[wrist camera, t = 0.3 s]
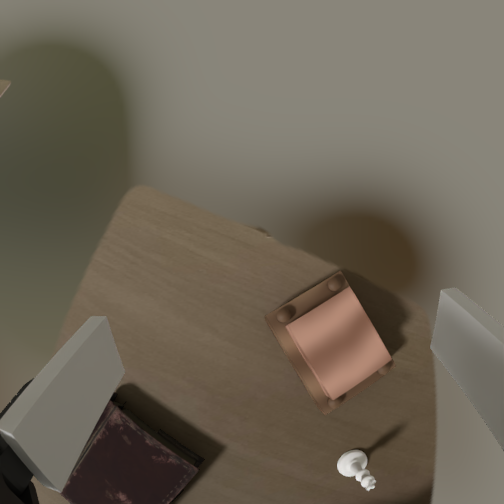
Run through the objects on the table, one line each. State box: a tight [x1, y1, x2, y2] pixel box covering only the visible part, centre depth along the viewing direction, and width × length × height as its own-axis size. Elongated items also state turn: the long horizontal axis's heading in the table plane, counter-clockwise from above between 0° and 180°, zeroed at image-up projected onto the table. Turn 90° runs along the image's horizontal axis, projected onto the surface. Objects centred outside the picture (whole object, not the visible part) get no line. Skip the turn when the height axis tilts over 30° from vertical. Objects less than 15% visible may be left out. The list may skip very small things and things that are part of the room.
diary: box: [60, 393, 205, 504], centre depth 35 cm, size 19×25×5 cm
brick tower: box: [264, 271, 396, 415], centre depth 39 cm, size 16×12×9 cm
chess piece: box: [337, 450, 376, 491], centre depth 33 cm, size 5×5×10 cm
